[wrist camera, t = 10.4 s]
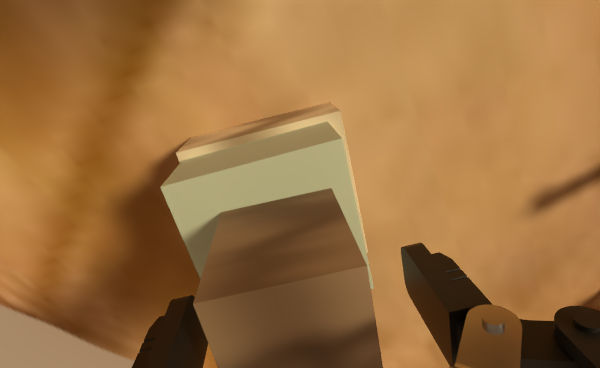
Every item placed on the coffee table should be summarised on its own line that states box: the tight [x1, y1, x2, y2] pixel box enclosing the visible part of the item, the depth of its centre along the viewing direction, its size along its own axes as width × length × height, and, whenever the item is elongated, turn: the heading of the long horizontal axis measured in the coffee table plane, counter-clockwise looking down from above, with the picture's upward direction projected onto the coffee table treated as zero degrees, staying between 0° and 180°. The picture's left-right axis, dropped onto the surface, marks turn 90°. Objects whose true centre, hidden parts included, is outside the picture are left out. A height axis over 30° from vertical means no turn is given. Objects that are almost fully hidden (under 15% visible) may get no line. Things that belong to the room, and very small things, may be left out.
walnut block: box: [193, 188, 383, 368], centre depth 13 cm, size 5×5×6 cm
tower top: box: [160, 122, 374, 289], centre depth 18 cm, size 8×8×4 cm
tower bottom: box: [176, 102, 368, 253], centre depth 22 cm, size 9×9×4 cm
